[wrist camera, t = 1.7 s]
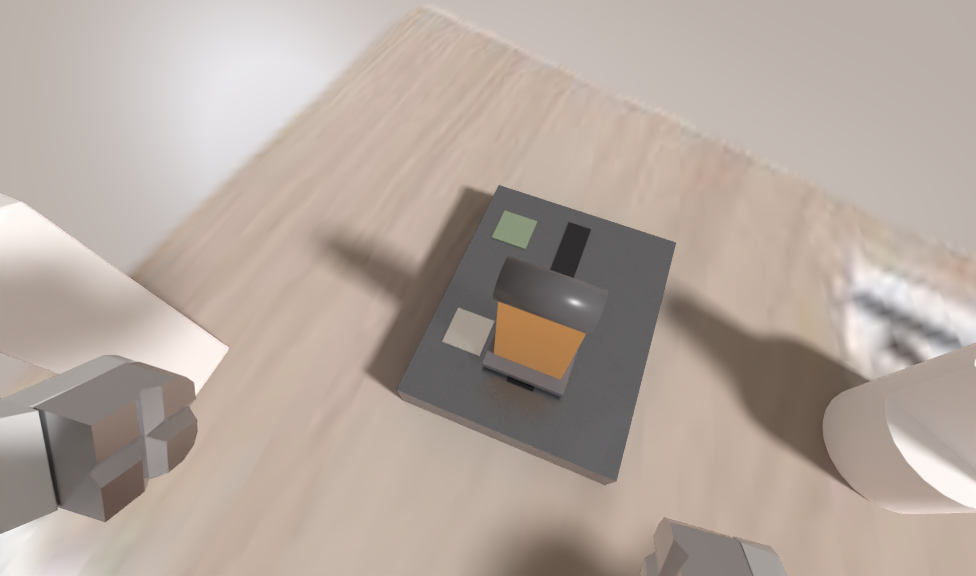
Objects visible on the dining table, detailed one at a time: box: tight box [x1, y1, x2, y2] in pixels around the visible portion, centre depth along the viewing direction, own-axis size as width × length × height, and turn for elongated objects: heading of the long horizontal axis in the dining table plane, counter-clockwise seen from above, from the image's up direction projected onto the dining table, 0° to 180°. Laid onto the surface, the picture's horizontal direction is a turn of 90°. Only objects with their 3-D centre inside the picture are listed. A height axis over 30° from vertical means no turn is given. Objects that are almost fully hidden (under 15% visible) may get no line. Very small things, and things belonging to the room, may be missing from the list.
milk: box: [0, 193, 229, 395], centre depth 26 cm, size 6×6×22 cm
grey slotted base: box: [397, 185, 676, 485], centre depth 37 cm, size 20×16×3 cm
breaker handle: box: [482, 256, 608, 397], centre depth 29 cm, size 4×6×11 cm
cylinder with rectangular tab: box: [822, 343, 976, 514], centre depth 29 cm, size 9×9×12 cm
